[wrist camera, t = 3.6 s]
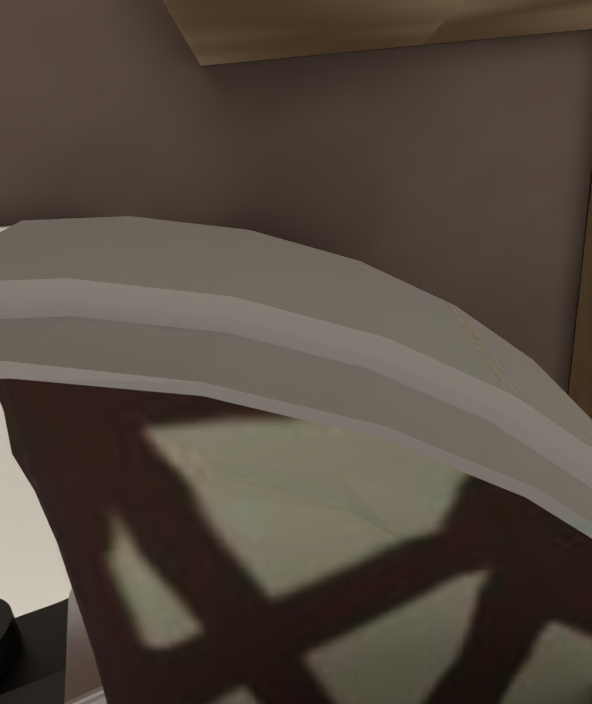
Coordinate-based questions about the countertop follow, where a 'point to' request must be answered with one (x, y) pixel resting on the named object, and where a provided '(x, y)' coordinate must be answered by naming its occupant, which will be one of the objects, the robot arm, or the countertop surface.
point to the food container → (292, 473)
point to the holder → (380, 33)
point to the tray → (26, 540)
